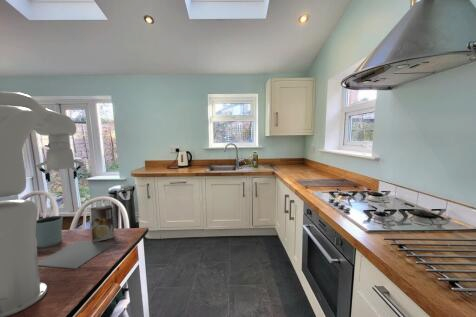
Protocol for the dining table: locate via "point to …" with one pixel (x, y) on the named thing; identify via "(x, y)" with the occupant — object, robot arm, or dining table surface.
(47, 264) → the mat
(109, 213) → the coffee box
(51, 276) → the dining table surface
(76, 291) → the dining table surface
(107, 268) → the dining table surface
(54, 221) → the teal planter pot
